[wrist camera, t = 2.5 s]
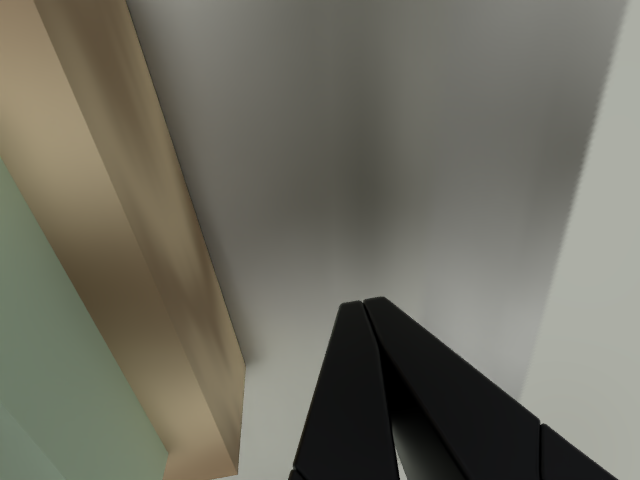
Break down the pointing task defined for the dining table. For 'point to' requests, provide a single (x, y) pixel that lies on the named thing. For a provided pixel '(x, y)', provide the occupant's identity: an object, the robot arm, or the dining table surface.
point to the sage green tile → (60, 371)
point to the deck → (122, 219)
